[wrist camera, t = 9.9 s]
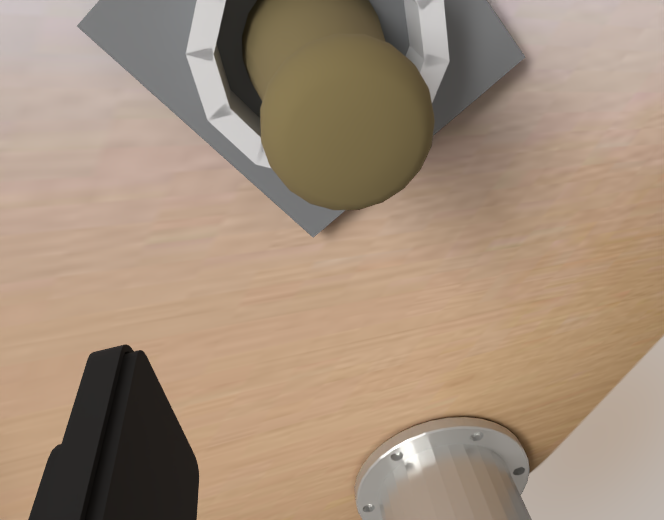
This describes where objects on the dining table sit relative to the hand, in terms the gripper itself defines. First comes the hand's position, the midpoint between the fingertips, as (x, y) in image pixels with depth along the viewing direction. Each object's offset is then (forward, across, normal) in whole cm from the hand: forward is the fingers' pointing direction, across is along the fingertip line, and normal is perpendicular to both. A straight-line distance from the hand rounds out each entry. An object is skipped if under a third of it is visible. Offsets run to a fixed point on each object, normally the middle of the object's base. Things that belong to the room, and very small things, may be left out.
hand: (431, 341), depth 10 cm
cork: (+19, 0, 0) cm, 19 cm away
